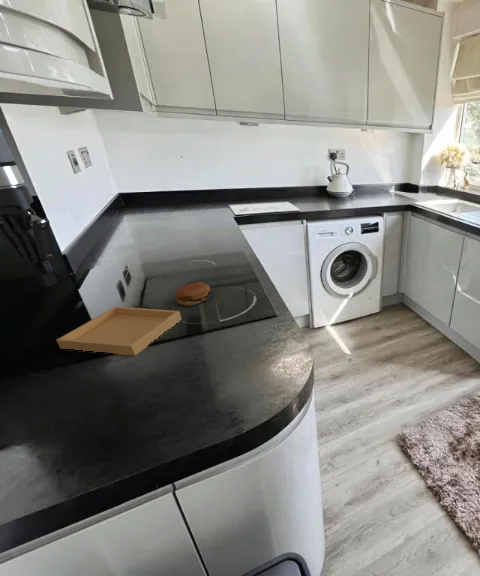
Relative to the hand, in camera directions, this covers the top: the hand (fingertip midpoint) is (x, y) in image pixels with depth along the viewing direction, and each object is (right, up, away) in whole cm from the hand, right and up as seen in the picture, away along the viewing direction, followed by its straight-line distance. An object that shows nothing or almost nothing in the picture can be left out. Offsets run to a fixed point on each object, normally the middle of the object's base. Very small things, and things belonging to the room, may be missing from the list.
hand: (50, 284), depth 81 cm
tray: (+16, -13, +4) cm, 21 cm away
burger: (+24, -5, +22) cm, 32 cm away
